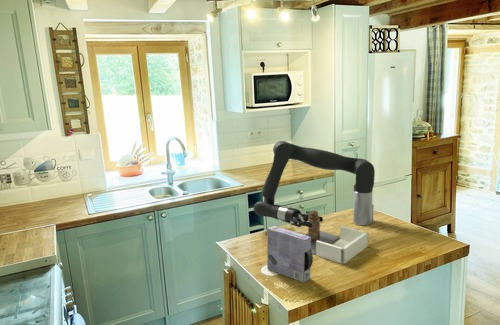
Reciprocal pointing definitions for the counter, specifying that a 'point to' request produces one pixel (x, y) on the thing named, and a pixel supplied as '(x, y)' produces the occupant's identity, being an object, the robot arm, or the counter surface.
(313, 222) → the pepper mill
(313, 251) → the serving board
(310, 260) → the cake pan box
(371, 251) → the counter surface
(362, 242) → the cubby
